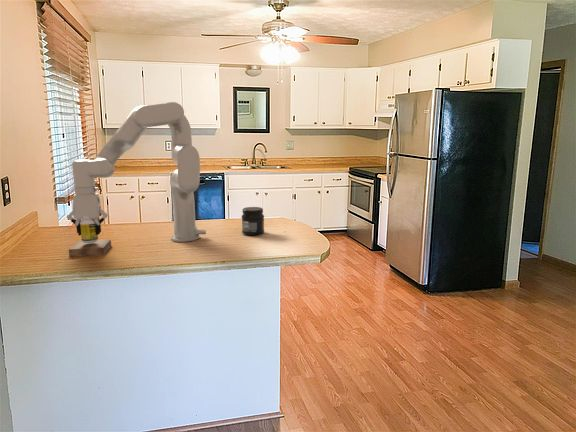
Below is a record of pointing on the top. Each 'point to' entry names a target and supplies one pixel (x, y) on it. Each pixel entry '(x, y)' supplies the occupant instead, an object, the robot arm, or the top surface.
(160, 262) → the top surface
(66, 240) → the top surface
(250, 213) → the supplement container
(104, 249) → the walnut base
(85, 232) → the pill bottle
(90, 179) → the robot arm
